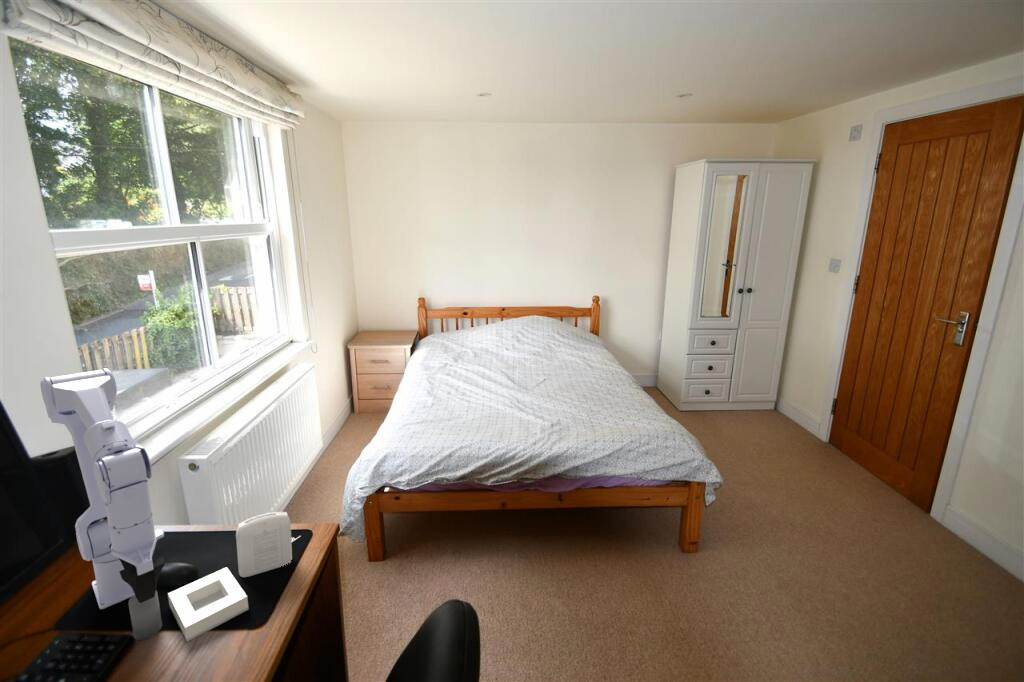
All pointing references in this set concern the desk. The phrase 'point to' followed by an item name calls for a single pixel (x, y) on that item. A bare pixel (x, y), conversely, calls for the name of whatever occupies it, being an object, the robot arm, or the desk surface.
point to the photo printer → (263, 543)
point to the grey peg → (145, 617)
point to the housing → (207, 603)
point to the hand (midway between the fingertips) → (141, 587)
